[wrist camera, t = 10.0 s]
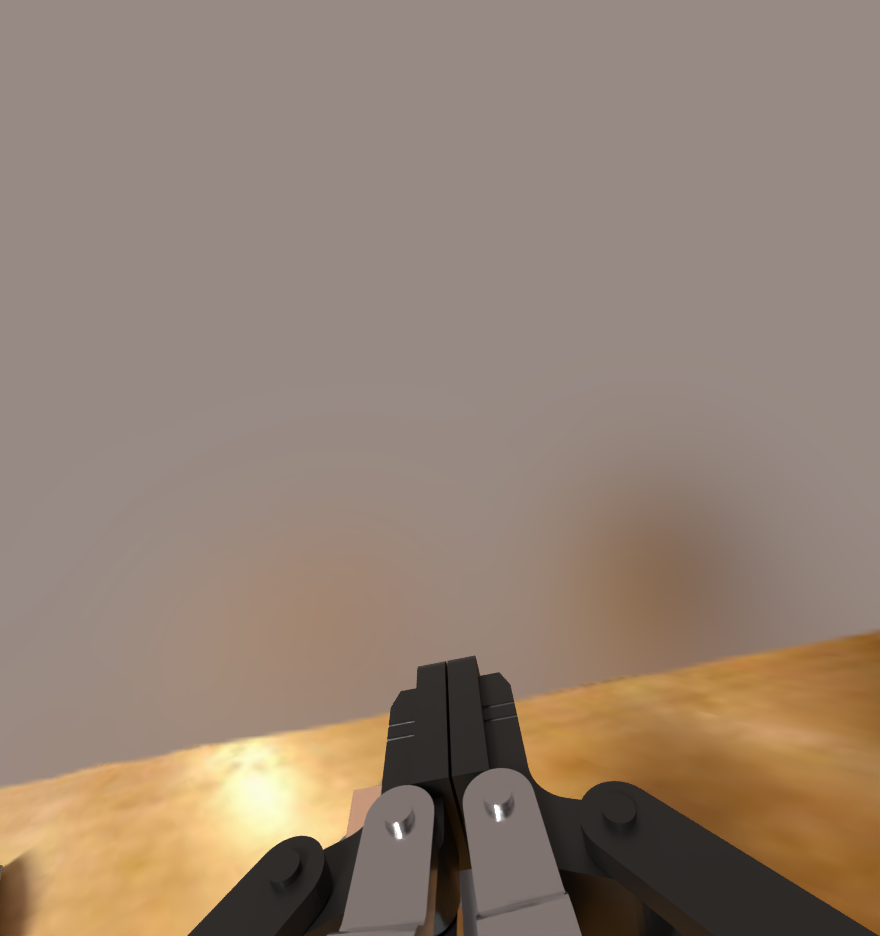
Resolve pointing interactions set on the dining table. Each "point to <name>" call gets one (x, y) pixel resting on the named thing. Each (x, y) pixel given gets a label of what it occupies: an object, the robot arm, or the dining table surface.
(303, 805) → the dining table surface
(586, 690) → the dining table surface
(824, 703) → the dining table surface
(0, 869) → the ceramic fragment
